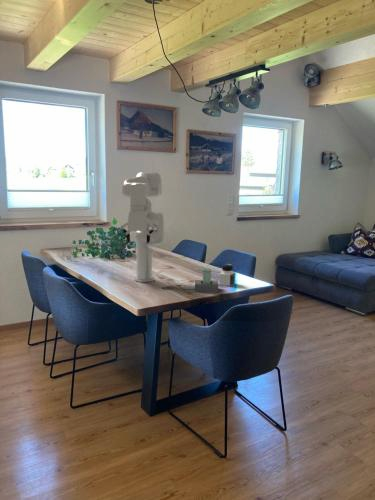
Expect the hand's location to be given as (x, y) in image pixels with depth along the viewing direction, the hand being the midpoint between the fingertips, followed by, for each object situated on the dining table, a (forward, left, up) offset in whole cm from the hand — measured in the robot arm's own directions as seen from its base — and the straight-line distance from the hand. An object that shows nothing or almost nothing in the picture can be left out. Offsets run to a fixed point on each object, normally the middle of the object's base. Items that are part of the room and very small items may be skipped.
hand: (138, 242), depth 200 cm
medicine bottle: (-37, +48, -30) cm, 68 cm away
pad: (-27, +25, -30) cm, 48 cm away
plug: (-23, +35, -30) cm, 52 cm away
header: (-23, +35, -30) cm, 52 cm away
